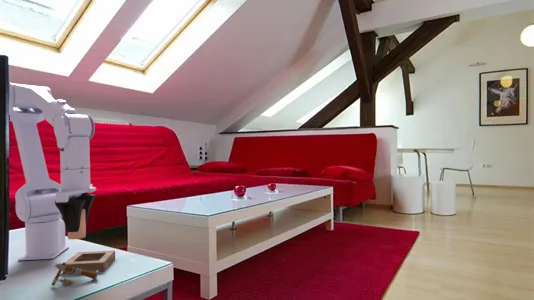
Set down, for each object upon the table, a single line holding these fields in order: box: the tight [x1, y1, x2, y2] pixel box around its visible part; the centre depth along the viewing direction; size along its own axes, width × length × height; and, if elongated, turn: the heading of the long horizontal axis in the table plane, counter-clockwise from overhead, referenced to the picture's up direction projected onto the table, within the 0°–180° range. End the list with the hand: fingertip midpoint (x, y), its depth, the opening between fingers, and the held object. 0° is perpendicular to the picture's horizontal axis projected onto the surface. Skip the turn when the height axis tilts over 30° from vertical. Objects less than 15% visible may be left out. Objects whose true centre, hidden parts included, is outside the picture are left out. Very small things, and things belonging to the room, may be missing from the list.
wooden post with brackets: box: [51, 261, 100, 286], centre depth 69 cm, size 2×8×4 cm, turn 118°
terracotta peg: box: [67, 209, 87, 240], centre depth 77 cm, size 4×4×6 cm
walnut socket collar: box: [61, 250, 116, 275], centre depth 79 cm, size 8×8×2 cm
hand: (76, 229), depth 77 cm, fingers closed on terracotta peg, 3 cm apart
